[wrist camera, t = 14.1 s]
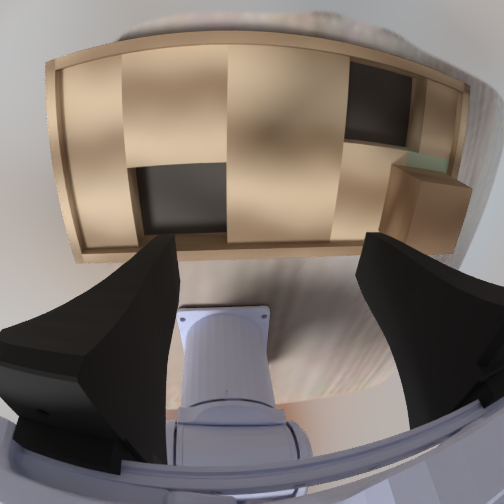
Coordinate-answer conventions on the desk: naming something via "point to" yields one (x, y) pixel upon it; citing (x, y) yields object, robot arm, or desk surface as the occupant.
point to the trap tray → (240, 142)
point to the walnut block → (424, 209)
